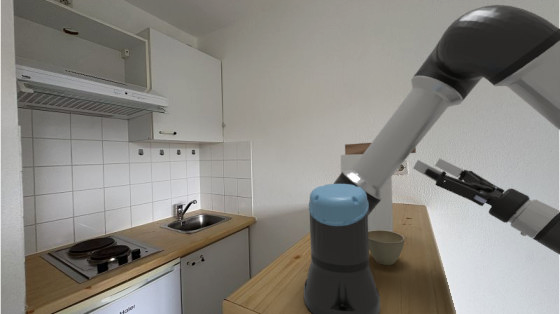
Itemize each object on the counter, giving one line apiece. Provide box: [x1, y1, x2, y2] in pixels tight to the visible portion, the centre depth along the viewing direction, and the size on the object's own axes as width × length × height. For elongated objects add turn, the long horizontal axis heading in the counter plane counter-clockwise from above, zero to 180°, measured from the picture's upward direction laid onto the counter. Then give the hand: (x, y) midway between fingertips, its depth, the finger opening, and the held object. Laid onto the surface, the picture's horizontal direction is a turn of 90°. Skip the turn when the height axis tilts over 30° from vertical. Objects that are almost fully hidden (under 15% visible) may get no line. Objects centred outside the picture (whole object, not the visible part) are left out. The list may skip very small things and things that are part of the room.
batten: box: [344, 142, 417, 155], centre depth 79 cm, size 4×24×4 cm, turn 35°
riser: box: [340, 154, 394, 232], centre depth 82 cm, size 10×14×30 cm
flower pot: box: [368, 230, 405, 266], centre depth 63 cm, size 10×10×7 cm
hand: (427, 162), depth 65 cm, fingers open, 13 cm apart
